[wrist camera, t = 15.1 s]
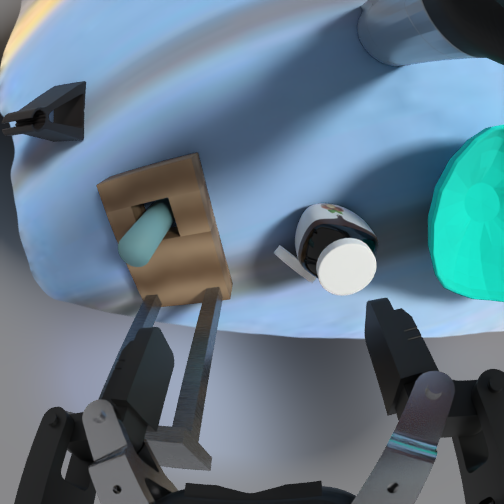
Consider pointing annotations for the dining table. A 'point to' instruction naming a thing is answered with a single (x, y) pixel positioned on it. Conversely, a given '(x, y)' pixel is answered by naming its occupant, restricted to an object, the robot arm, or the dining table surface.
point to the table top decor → (471, 219)
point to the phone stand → (65, 114)
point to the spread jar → (333, 249)
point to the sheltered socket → (175, 285)
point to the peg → (146, 234)
